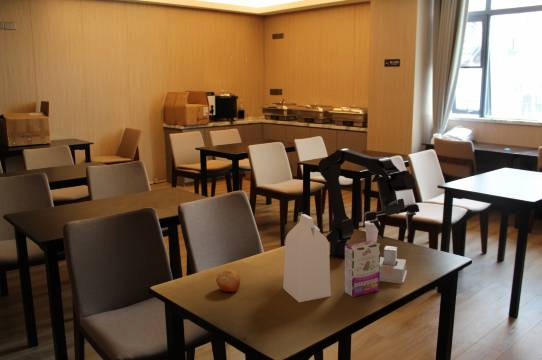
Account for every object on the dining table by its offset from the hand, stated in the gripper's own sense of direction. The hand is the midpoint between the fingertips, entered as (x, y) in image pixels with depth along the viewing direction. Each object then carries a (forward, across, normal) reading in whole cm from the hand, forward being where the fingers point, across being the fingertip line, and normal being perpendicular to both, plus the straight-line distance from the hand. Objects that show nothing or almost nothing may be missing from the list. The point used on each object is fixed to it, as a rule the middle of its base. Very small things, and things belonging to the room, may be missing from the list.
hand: (395, 236), depth 184 cm
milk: (+11, -34, -16) cm, 39 cm away
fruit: (+6, -59, -17) cm, 62 cm away
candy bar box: (+14, -16, -14) cm, 25 cm away
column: (+13, -5, +1) cm, 14 cm away
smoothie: (+7, -8, +35) cm, 36 cm away
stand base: (+14, -5, +1) cm, 15 cm away
